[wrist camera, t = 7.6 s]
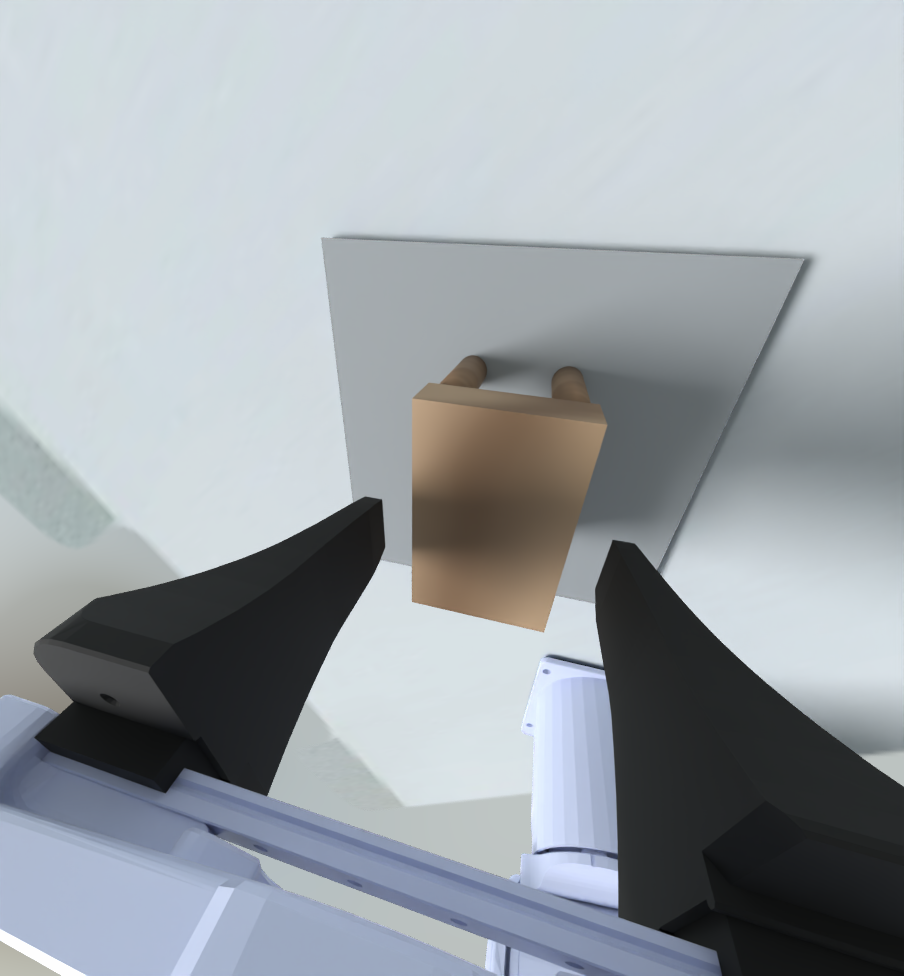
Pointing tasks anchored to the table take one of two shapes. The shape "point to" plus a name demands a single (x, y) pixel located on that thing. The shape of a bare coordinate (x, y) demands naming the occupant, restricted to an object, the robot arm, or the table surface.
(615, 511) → the mat
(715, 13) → the table surface
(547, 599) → the stool
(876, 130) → the table surface
